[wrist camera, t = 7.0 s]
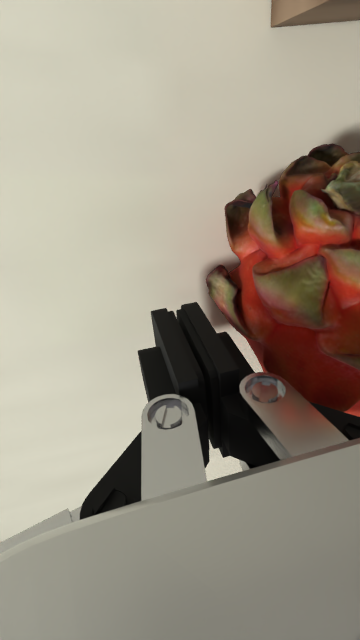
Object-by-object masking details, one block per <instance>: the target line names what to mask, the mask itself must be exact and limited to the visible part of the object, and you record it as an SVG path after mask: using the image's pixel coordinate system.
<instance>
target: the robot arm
mask: <svg viewBox="0 0 360 640" xmlns="http://www.w3.org/2000/svg"><path fill="white" fill-rule="evenodd" d="M151 317H152V323H153V330H154V336H155V343H156V347H153V348H148V349H143V350H139V351H138V355H139V361H140V366H141V371H142V376H143V381H144V385H145V390H146V394H147V398H148V404H146V406H145V408H144V409H143V412H142V431H141V432H140V433H139V434H138V435H137V437H136V438H135V439H134V440H133V441H132V443H131V444H130V445H129V446H128V448H127V449H126V450H125V451H124V452H123V454H122V455H121V456H120V457H119V458H118V460H117V461H116V462H115V463H114V464H113V466H112V467H111V468H110V469H109V470H108V472H107V473H106V474H105V475H104V476H103V478H102V479H101V480H100V481H99V482H98V484H97V485H96V486H95V487H94V488H93V490H92V491H91V492H90V493H89V495H88V496H87V498H86V499H85V501H84V502H83V504H82V506H81V507H79V508H77V509H75V510H73V511H71V512H70V511H69V509H66V510H64V511H62V512H60V513H58V514H56V515H54V516H52V517H50V518H48V519H46V520H44V521H42V522H40V523H38V524H36V525H34V526H32V527H30V528H28V529H26V530H24V531H22V532H20V533H18V534H16V535H14V536H13V537H11V538H9V539H7V540H5V541H3V542H1V543H0V640H360V417H358V416H355V415H351V414H348V413H345V412H342V411H338V410H335V409H332V408H329V407H325V406H322V405H319V404H316V403H312V402H309V401H307V400H306V399H305V398H304V397H303V396H302V395H301V394H300V393H299V392H298V391H297V390H295V389H294V388H293V387H292V386H291V385H290V384H289V383H288V382H287V381H286V380H285V379H283V378H282V377H280V376H278V375H275V374H273V373H267V372H257V373H255V372H254V371H253V369H252V368H251V366H250V365H249V364H248V362H247V361H246V359H245V358H244V356H243V355H242V353H241V352H240V350H239V349H238V348H237V346H236V345H235V343H234V342H233V340H232V339H231V337H230V336H229V334H228V333H227V332H222V333H216V331H215V330H214V328H213V327H212V325H211V324H210V322H209V320H208V319H207V317H206V316H205V314H204V312H203V311H202V309H201V308H200V306H199V305H198V303H197V302H194V303H189V304H184V305H182V306H181V309H180V310H177V319H176V316H175V314H174V312H173V311H170V312H168V311H167V309H166V308H164V309H159V310H154V311H151ZM209 439H210V442H211V444H212V447H213V448H214V449H215V448H219V449H220V452H221V454H222V456H223V458H224V457H227V456H232V457H234V458H237V459H239V462H240V466H241V468H242V470H243V471H242V472H238V473H235V474H231V475H228V476H225V477H221V478H218V479H214V480H211V481H208V482H207V478H206V473H205V468H206V466H207V464H208V463H209Z"/></svg>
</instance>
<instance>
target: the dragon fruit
mask: <svg viewBox="0 0 360 640" xmlns="http://www.w3.org/2000/svg"><path fill="white" fill-rule="evenodd" d="M277 185H278V181H277V180H276V181H275V183H274V184H271V185H269V186H268V188H267V185H266V187H265V189H264V190H263V191H262V190H261V191H260V193H259V194H258V196H257V197H256V196H255V195H254V194H253V191H252V190H251V189H249V190H247V191H246V192H244V193H241V194H239V195H238V196H237V197H236V198H235V199H234V200H233V201H232V202H230V203H228V204H227V205H226V206H225V216H226V228H227V237H228V241H229V245H230V247H231V249H232V251H233V252H234V253H235V254H236V255H237V256H238V258H239V259H240V262H241V264H240V265H239V266H238V267H237V268H235V269H234V270H232V271H231V272H230V273H228V271H227V269H226V268H225V267H224V266H222V265H219V266H217V267H216V268H215V269H214V270H213V271H212V272H211V273H210V274H209V275H208V277H207V279H206V282H207V287H208V288H209V295H210V296H211V297H212V299H213V300H214V302H215V303H216V305H217V306H218V308H219V309H220V311H221V312H222V313H223V314H224V315H225V317H226V318H227V320H228V322H229V323H230V324H231V325H232V326H233V327H234V328H235V329H236V331H238V332H240V333H241V335H243V336H244V337H245V338H246V339H247V341H248V343H249V345H250V346H251V348H252V350H253V351H254V353H255V355H256V357H257V358H258V361H259V363H260V365H261V366H262V369H263V372H267V373H273V374H275V375H278V376H280V377H282V378H283V379H285V380H286V381H287V382H288V383H289V384H290V385H291V386H292V387H293V388H294V389H295V390H297V391H298V392H299V393H300V394H301V395H302V396H303V397H304V398H305V399H306V400H307V401H309V402H312V403H316V404H319V405H322V406H325V407H329V408H332V409H335V410H338V411H342V412H345V413H348V414H351V415H355V416H358V417H360V152H357V153H351V154H348V153H347V152H345V151H344V149H343V148H342V147H341V146H339V145H335V144H329V145H327V144H324V145H321V146H318V147H316V148H314V149H312V150H311V151H310V152H309V154H308V156H301V157H300V158H299V159H297V160H295V161H294V162H292V163H291V164H290V165H289V166H288V167H287V168H286V169H285V170H284V172H283V173H282V175H281V177H280V180H279V191H280V197H272V195H273V193H274V191H275V189H276V187H277ZM266 188H267V189H266Z"/></svg>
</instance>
